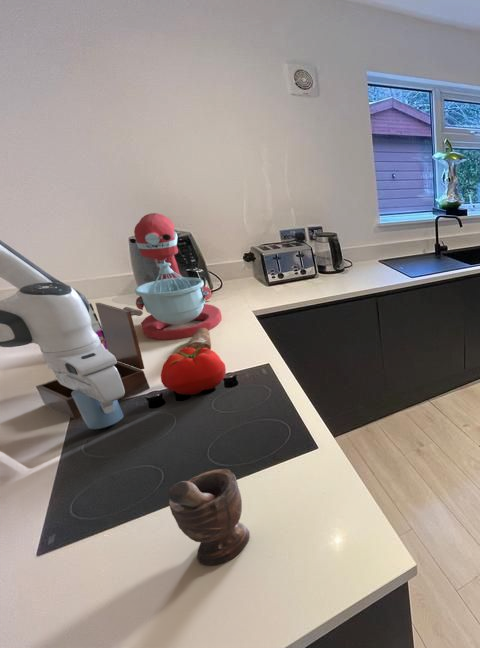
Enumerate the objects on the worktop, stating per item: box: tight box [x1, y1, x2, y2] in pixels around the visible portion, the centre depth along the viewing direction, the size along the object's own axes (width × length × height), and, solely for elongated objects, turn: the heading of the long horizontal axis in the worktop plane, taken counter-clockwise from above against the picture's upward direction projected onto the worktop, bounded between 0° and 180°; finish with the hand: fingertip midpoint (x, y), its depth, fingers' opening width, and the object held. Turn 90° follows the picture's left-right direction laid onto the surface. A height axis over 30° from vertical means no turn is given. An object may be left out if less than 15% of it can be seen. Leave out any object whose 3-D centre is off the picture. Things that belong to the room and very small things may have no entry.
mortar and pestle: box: [167, 468, 251, 566], centre depth 63 cm, size 12×9×20 cm
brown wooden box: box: [35, 361, 151, 420], centre depth 105 cm, size 16×15×6 cm
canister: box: [71, 390, 125, 430], centre depth 93 cm, size 6×6×9 cm
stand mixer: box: [129, 212, 223, 341], centre depth 144 cm, size 24×32×40 cm
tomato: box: [160, 346, 227, 396], centre depth 110 cm, size 13×14×12 cm
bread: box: [186, 328, 212, 350], centre depth 134 cm, size 6×19×6 cm, turn 31°
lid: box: [94, 302, 145, 371], centre depth 110 cm, size 16×15×5 cm
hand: (99, 407), depth 93 cm, fingers closed on canister, 6 cm apart
